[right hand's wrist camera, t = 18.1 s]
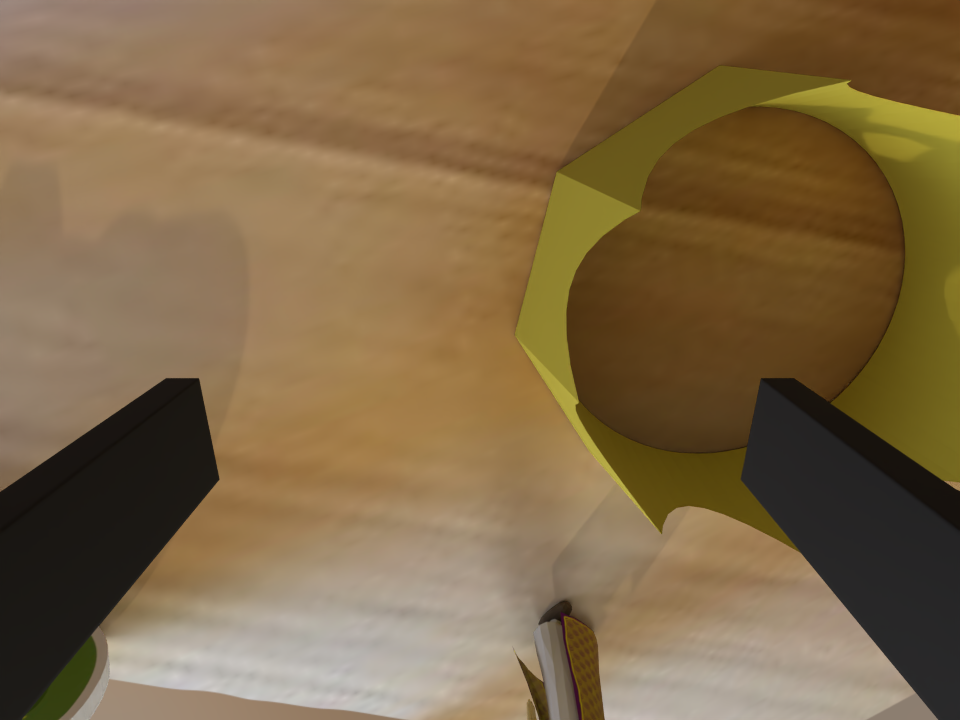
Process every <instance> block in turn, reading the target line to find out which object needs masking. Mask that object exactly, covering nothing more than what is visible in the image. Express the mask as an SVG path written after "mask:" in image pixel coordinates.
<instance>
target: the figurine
mask: <svg viewBox="0 0 960 720" xmlns="http://www.w3.org/2000/svg"><path fill="white" fill-rule="evenodd" d="M571 611H572V606H571V604H570V603H569V602H567V601H564V602H561V603H559V604H557V605H556V606H554V607H553V608H551V609H550V610H549V611H548V612H547V613H546V614H545V615H544V616H543V617H542V618H541V620H540V622H539V626H538V628H537V629H536V630H535V631H534V640H535V646H536V652H537V656H538V660H539V664H540V668H541V672H542V676H543V681H544V682H542V681H541V680H539V679H538V678H536V677H535V676H534V675H533V674H532V673H531V672H530V671H529V670H528V669H527V667H526V666H525V665H524V663H523V662H522V661H521V660H520V659H519V658H518V656H517V655H516V656H517V659H518V661H519V663H520V666H521V668H522V671H523V673H524V676H525V678H526V681H527V683H528V686H529V689H530V692H531V695H532V698H533V701H534V704H535V707H536V710H537V713H538V716H539V720H605V719H604V711H603V702H602V693H601V685H600V676H599V658H598V644H597V640H596V637H595V635H594V632H593V631H592V630H591V629H590V628H589V627H588V626H586V625H585V624H584V623H582V622H581V621H579V620H577V619H575V618H573V617H571V616H569V615H570V613H571ZM513 649H514V648H513ZM514 652H515V651H514ZM515 654H516V653H515ZM527 720H537V719H536V715H535V708H534V706H533V704H532V702H531V701H530V699H528V702H527Z"/></svg>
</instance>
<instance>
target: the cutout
mask: <svg viewBox="0 0 960 720" xmlns="http://www.w3.org/2000/svg"><path fill="white" fill-rule="evenodd" d="M109 665H110V664H109V653H108V644H107V640H106V636H105V635H104V633H103V631H102V630H101V629H100V627H99V626H98V628H97V629H96V630H95V631H94V632H93V634H92V635H91V636H90V637H89V639H88V640H87V641H86V642H85V643H84V645H83V646H82V647H81V648H80V649H79V651H78V652H77V653H76V654H75V656H74V657H73V658H72V659H71V660H70V662H69V663H68V664H67V665H66V666H65V668H64V669H63V670H62V671H61V673H60V674H59V675H58V676H57V677H56V679H55V680H54V681H53V682H52V683H51V685H50V686H49V687H48V688H47V690H46V691H45V692H44V693H43V694H42V696H41V697H40V698H39V699H38V701H37V702H36V703H35V704H34V705H33V707H32V708H31V709H30V710H29V711H28V713H27V714H26V715H25V716H24V718H23V719H22V720H90V718H91V717H92V715H93V714H94V712H95V710H96V709H97V707H98V705H99V703H100V701H101V700H102V698H103V696H104V693H105V690H106V688H107V684H108V680H109V674H110V669H109Z"/></svg>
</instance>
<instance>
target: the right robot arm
mask: <svg viewBox="0 0 960 720" xmlns="http://www.w3.org/2000/svg"><path fill="white" fill-rule="evenodd" d="M218 481H219V475H218V470H217V465H216V460H215V455H214V450H213V445H212V440H211V435H210V430H209V425H208V420H207V416H206V411H205V406H204V401H203V396H202V391H201V386H200V381H199V378H166V379H164V380H163V381H161V382H160V383H159V384H157V385H156V386H154V387H153V388H151V389H150V390H148V391H147V392H145V393H144V394H143V395H141V396H140V397H138V398H137V399H135V400H134V401H132V402H131V403H129V404H128V405H126V406H125V407H124V408H122V409H121V410H119V411H118V412H116V413H115V414H113V415H112V416H110V417H109V418H108V419H106V420H105V421H103V422H102V423H100V424H99V425H97V426H96V427H94V428H93V429H92V430H90V431H89V432H87V433H86V434H84V435H83V436H81V437H80V438H78V439H77V440H75V441H74V442H73V443H71V444H70V445H68V446H67V447H65V448H64V449H62V450H61V451H59V452H58V453H57V454H55V455H54V456H52V457H51V458H49V459H48V460H46V461H45V462H43V463H42V464H40V465H39V466H38V467H36V468H35V469H33V470H32V471H30V472H29V473H27V474H26V475H24V476H23V477H22V478H20V479H19V480H17V481H16V482H14V483H13V484H11V485H10V486H8V487H7V488H5V489H4V490H3V491H1V492H0V720H22V719H23V718H24V716H25V715H26V714H27V713H28V711H29V710H30V709H31V708H32V707H33V705H34V704H35V703H36V702H37V701H38V699H39V698H40V697H41V696H42V694H43V693H44V692H45V691H46V690H47V688H48V687H49V686H50V685H51V683H52V682H53V681H54V680H55V679H56V677H57V676H58V675H59V674H60V673H61V671H62V670H63V669H64V668H65V666H66V665H67V664H68V663H69V662H70V660H71V659H72V658H73V657H74V656H75V654H76V653H77V652H78V651H79V649H80V648H81V647H82V646H83V645H84V643H85V642H86V641H87V640H88V639H89V637H90V636H91V635H92V634H93V632H94V631H95V630H96V629H97V628H98V626H99V625H100V624H101V623H102V622H103V620H104V619H105V618H106V617H107V615H108V614H109V613H110V612H111V611H112V609H113V608H114V607H115V606H116V605H117V603H118V602H119V601H120V600H121V598H122V597H123V596H124V595H125V594H126V592H127V591H128V590H129V589H130V588H131V586H132V585H133V584H134V583H135V581H136V580H137V579H138V578H139V577H140V575H141V574H142V573H143V572H144V571H145V569H146V568H147V567H148V566H149V564H150V563H151V562H152V561H153V560H154V558H155V557H156V556H157V555H158V554H159V552H160V551H161V550H162V549H163V547H164V546H165V545H166V544H167V543H168V541H169V540H170V539H171V538H172V537H173V535H174V534H175V533H176V532H177V530H178V529H179V528H180V527H181V526H182V524H183V523H184V522H185V521H186V520H187V518H188V517H189V516H190V515H191V513H192V512H193V511H194V510H195V509H196V507H197V506H198V505H199V504H200V503H201V501H202V500H203V499H204V498H205V496H206V495H207V494H208V493H209V492H210V490H211V489H212V488H213V487H214V485H215V484H216V483H217V482H218ZM741 481H742V482H743V483H744V484H745V486H746V487H747V488H748V489H749V490H750V492H751V493H752V494H753V495H754V496H755V498H756V499H757V500H758V501H759V503H760V504H761V505H762V506H763V507H764V509H765V510H766V511H767V512H768V513H769V515H770V516H771V517H772V518H773V520H774V521H775V522H776V523H777V524H778V526H779V527H780V528H781V529H782V530H783V532H784V533H785V534H786V535H787V537H788V538H789V539H790V540H791V541H792V543H793V544H794V545H795V546H796V547H797V549H798V550H799V551H800V552H801V554H802V555H803V556H804V557H805V558H806V560H807V561H808V562H809V563H810V564H811V566H812V567H813V568H814V569H815V571H816V572H817V573H818V574H819V575H820V577H821V578H822V579H823V580H824V581H825V583H826V584H827V585H828V586H829V588H830V589H831V590H832V591H833V592H834V594H835V595H836V596H837V597H838V598H839V600H840V601H841V602H842V603H843V605H844V606H845V607H846V608H847V609H848V611H849V612H850V613H851V614H852V615H853V617H854V618H855V619H856V620H857V622H858V623H859V624H860V625H861V626H862V628H863V629H864V630H865V631H866V632H867V634H868V635H869V636H870V637H871V639H872V640H873V641H874V642H875V643H876V645H877V646H878V647H879V648H880V649H881V651H882V652H883V653H884V654H885V656H886V657H887V658H888V659H889V660H890V662H891V663H892V664H893V665H894V666H895V668H896V669H897V670H898V671H899V673H900V674H901V675H902V676H903V677H904V679H905V680H906V681H907V682H908V684H909V685H910V686H911V687H912V688H913V690H914V691H915V692H916V693H917V694H918V696H919V697H920V698H921V699H922V701H923V702H924V703H925V704H926V705H927V707H928V708H929V709H930V710H931V711H932V713H933V714H934V715H935V716H936V718H937V719H938V720H960V491H959V490H956V489H955V488H953V487H952V486H950V485H949V484H947V483H946V482H944V481H943V480H941V479H940V478H938V477H937V476H936V475H934V474H933V473H931V472H930V471H928V470H927V469H925V468H924V467H922V466H921V465H920V464H918V463H917V462H915V461H914V460H912V459H911V458H909V457H908V456H906V455H905V454H903V453H902V452H901V451H899V450H898V449H896V448H895V447H893V446H892V445H890V444H889V443H887V442H886V441H885V440H883V439H882V438H880V437H879V436H877V435H876V434H874V433H873V432H871V431H870V430H868V429H867V428H866V427H864V426H863V425H861V424H860V423H858V422H857V421H855V420H854V419H852V418H851V417H850V416H848V415H847V414H845V413H844V412H842V411H841V410H839V409H838V408H836V407H835V406H834V405H832V404H831V403H829V402H828V401H826V400H825V399H823V398H822V397H820V396H819V395H817V394H816V393H815V392H813V391H812V390H810V389H809V388H807V387H806V386H804V385H803V384H801V383H800V382H799V381H797V380H796V379H794V378H761V381H760V386H759V391H758V396H757V401H756V406H755V411H754V416H753V420H752V425H751V430H750V435H749V440H748V445H747V450H746V455H745V460H744V465H743V470H742V475H741Z"/></svg>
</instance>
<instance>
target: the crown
mask: <svg viewBox="0 0 960 720" xmlns="http://www.w3.org/2000/svg"><path fill="white" fill-rule="evenodd" d="M850 81H851V80H845V79H837V78H828V77H819V76H810V75H801V74H793V73H784V72H775V71H766V70H758V69H749V68H740V67H731V66H722V65H719V66H718V67H716V68H715V69H713V70H712V71H710V72H709V73H707V74H706V75H704V76H702V77H701V78H699V79H698V80H696V81H695V82H693V83H692V84H690V85H689V86H687V87H686V88H684V89H683V90H681V91H680V92H678V93H676V94H675V95H673V96H672V97H670V98H669V99H667V100H666V101H664V102H663V103H661V104H660V105H658V106H657V107H655V108H654V109H652V110H650V111H649V112H647V113H646V114H644V115H643V116H641V117H640V118H638V119H637V120H635V121H634V122H632V123H631V124H629V125H628V126H626V127H624V128H623V129H621V130H620V131H618V132H617V133H615V134H614V135H612V136H611V137H609V138H608V139H606V140H605V141H603V142H602V143H600V144H598V145H597V146H595V147H594V148H592V149H591V150H589V151H588V152H586V153H585V154H583V155H582V156H580V157H579V158H577V159H575V160H574V161H572V162H571V163H569V164H568V165H566V166H565V167H563V168H562V169H560V170H559V171H557V173H556V177H555V180H554V184H553V188H552V192H551V196H550V200H549V204H548V208H547V211H546V215H545V219H544V223H543V227H542V231H541V235H540V239H539V242H538V246H537V250H536V254H535V258H534V262H533V266H532V269H531V273H530V277H529V281H528V285H527V289H526V293H525V297H524V300H523V304H522V308H521V312H520V316H519V320H518V324H517V328H516V331H515V336H516V338H517V339H518V341H519V342H520V344H521V346H522V347H523V349H524V350H525V352H526V353H527V355H528V356H529V358H530V360H531V361H532V363H533V364H534V366H535V367H536V369H537V371H538V372H539V374H540V375H541V377H542V378H543V380H544V381H545V383H546V385H547V386H548V388H549V389H550V391H551V392H552V394H553V395H554V397H555V399H556V400H557V402H558V403H559V405H560V406H561V408H562V409H563V411H564V413H565V414H566V416H567V417H568V419H569V420H570V422H571V423H572V425H573V427H574V428H575V430H576V431H577V433H578V434H579V436H580V437H581V439H582V441H583V442H584V444H585V445H586V447H587V448H588V450H589V451H590V453H591V454H592V455H593V456H594V457H595V458H596V459H597V461H598V462H599V463H600V464H601V465H602V466H603V467H604V469H605V470H606V471H607V472H608V473H609V474H610V476H611V477H612V478H613V479H614V480H615V481H616V482H617V484H618V485H619V486H620V487H621V488H622V489H623V490H624V492H625V493H626V494H627V495H628V496H629V497H630V499H631V500H632V501H633V502H634V503H635V504H636V505H637V507H638V508H639V509H640V510H641V511H642V512H643V514H644V515H645V516H646V517H647V518H648V519H649V520H650V522H651V523H652V524H653V525H654V526H655V527H656V528H657V530H658V531H659V532H660V533H661V534H662V528H663V524H664V522H665V520H666V517H667V515H668V514H669V513H670V512H672V511H673V510H674V509H676V508H678V507H684V506H694V507H701V508H706V509H709V510H712V511H715V512H718V513H721V514H724V515H727V516H729V517H731V518H734V519H736V520H738V521H741V522H743V523H745V524H747V525H750V526H752V527H753V528H755V529H757V530H759V531H761V532H763V533H765V534H767V535H769V536H771V537H773V538H775V539H777V540H779V541H781V542H782V543H784V544H786V545H788V546H790V547H791V548H793V549H795V550H797V551H798V552H800V551H799V550H798V549H797V547H796V546H795V545H794V544H793V543H792V541H791V540H790V539H789V538H788V537H787V535H786V534H785V533H784V532H783V530H782V529H781V528H780V527H779V526H778V524H777V523H776V522H775V521H774V520H773V518H772V517H771V516H770V515H769V513H768V512H767V511H766V510H765V509H764V507H763V506H762V505H761V504H760V503H759V501H758V500H757V499H756V498H755V496H754V495H753V494H752V493H751V492H750V490H749V489H748V488H747V487H746V486H745V484H744V483H743V482H742V481H741V475H742V470H743V465H744V460H745V455H746V450H747V447H744V448H741V449H736V450H730V451H725V452H716V453H699V454H694V453H678V452H671V451H665V450H661V449H656V448H652V447H649V446H646V445H643V444H640V443H637V442H635V441H633V440H630V439H628V438H626V437H624V436H622V435H620V434H618V433H617V432H615V431H613V430H612V429H610V428H609V427H607V426H606V425H604V424H603V423H602V422H601V421H599V420H598V419H597V418H596V417H594V416H593V415H592V414H591V413H590V412H589V411H588V410H587V409H586V408H585V407H584V406H583V404H582V403H581V402H580V401H579V400H578V396H577V392H576V387H575V383H574V379H573V374H572V370H571V365H570V358H569V350H568V343H567V330H566V310H567V303H568V295H569V289H570V286H571V284H572V281H573V278H574V275H575V272H576V270H577V268H578V266H579V265H580V263H581V261H582V260H583V258H584V256H585V255H586V253H587V252H588V251H589V250H590V249H591V248H592V247H593V246H594V245H595V244H596V242H597V241H598V240H599V239H600V238H601V237H602V236H603V235H605V234H606V233H607V232H609V231H610V230H611V229H613V228H614V227H615V226H617V225H618V224H620V223H621V222H622V221H624V220H625V219H627V218H629V217H631V216H632V215H634V214H636V213H638V212H640V211H641V200H642V195H643V192H644V189H645V185H646V182H647V179H648V176H649V174H650V173H651V171H652V169H653V168H654V166H655V164H656V163H657V161H658V159H659V158H660V157H661V156H662V155H663V154H664V153H665V152H666V151H667V150H668V149H669V148H670V147H671V146H672V145H673V144H674V143H676V142H677V141H678V140H680V139H681V138H683V137H684V136H686V135H687V134H689V133H690V132H691V131H693V130H695V129H697V128H699V127H701V126H703V125H705V124H707V123H709V122H711V121H713V120H715V119H717V118H719V117H722V116H725V115H728V114H730V113H733V112H736V111H738V110H741V109H744V108H746V107H750V106H762V107H776V108H782V109H788V110H793V111H797V112H800V113H804V114H807V115H811V116H813V117H815V118H818V119H820V120H823V121H825V122H827V123H829V124H831V125H832V126H834V127H836V128H838V129H840V130H841V131H843V132H844V133H845V134H847V135H848V136H849V137H851V138H852V139H854V140H855V141H856V142H857V143H858V144H859V145H860V146H861V147H862V148H863V149H865V150H866V151H867V153H868V154H869V155H870V156H871V157H872V158H873V160H874V161H875V162H876V163H877V165H878V166H879V168H880V169H881V171H882V172H883V174H884V175H885V177H886V179H887V181H888V182H889V184H890V186H891V188H892V190H893V193H894V195H895V198H896V201H897V203H898V206H899V210H900V214H901V218H902V222H903V229H904V236H905V267H904V275H903V282H902V287H901V291H900V295H899V299H898V303H897V306H896V309H895V312H894V315H893V318H892V320H891V322H890V324H889V327H888V329H887V331H886V333H885V335H884V337H883V339H882V341H881V343H880V344H879V346H878V348H877V350H876V351H875V353H874V354H873V356H872V357H871V359H870V360H869V362H868V363H867V364H866V366H865V367H864V368H863V370H862V371H861V372H860V374H859V375H858V376H857V377H856V378H855V379H854V380H853V382H852V383H851V384H850V385H849V386H848V387H847V388H846V389H845V390H844V391H843V392H842V393H841V394H840V395H839V396H838V397H837V398H836V399H834V400H833V401H832V402H831V404H832V405H834V406H835V407H836V408H838V409H839V410H841V411H842V412H844V413H845V414H847V415H848V416H850V417H851V418H852V419H854V420H855V421H857V422H858V423H860V424H861V425H863V426H864V427H866V428H867V429H868V430H870V431H871V432H873V433H874V434H876V435H877V436H879V437H880V438H882V439H883V440H885V441H886V442H887V443H889V444H890V445H892V446H893V447H895V448H896V449H898V450H899V451H901V452H902V453H903V454H905V455H906V456H908V457H909V458H911V459H912V460H914V461H915V462H917V463H918V464H920V465H921V466H922V467H924V468H925V469H927V470H928V471H930V472H931V473H933V474H934V475H936V476H937V477H938V478H940V479H941V480H943V481H952V482H960V116H959V115H954V114H949V113H944V112H940V111H935V110H930V109H925V108H921V107H917V106H912V105H908V104H903V103H899V102H895V101H891V100H887V99H883V98H879V97H875V96H872V95H869V94H865V93H862V92H859V91H857V90H855V89H852V88H850V87H849V86H848V85H847V83H848V82H850ZM800 553H801V552H800Z"/></svg>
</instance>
